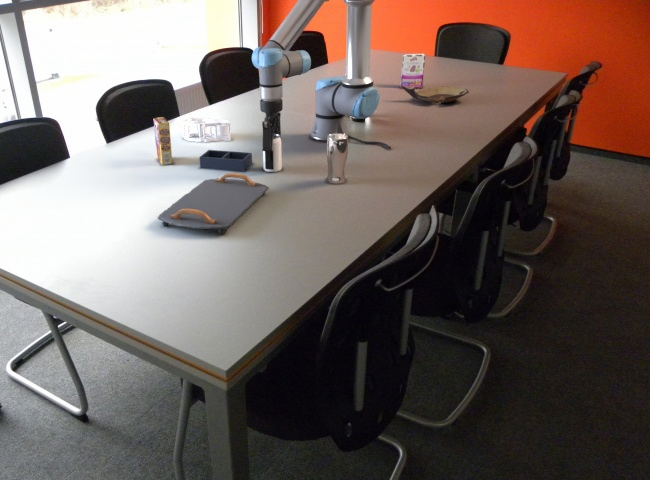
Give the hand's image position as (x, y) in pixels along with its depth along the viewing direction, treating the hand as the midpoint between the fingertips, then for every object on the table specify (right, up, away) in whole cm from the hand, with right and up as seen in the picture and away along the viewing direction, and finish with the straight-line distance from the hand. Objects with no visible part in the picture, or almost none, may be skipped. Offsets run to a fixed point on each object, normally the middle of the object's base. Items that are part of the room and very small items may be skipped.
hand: (272, 165), depth 215 cm
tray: (-17, +1, +6) cm, 18 cm away
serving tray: (-18, -20, -29) cm, 39 cm away
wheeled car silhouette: (-25, +19, +37) cm, 48 cm away
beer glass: (+21, -8, -11) cm, 25 cm away
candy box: (-40, +4, +13) cm, 42 cm away
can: (0, -1, +1) cm, 2 cm away
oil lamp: (+80, +48, +78) cm, 121 cm away
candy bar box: (+76, +63, +104) cm, 144 cm away
